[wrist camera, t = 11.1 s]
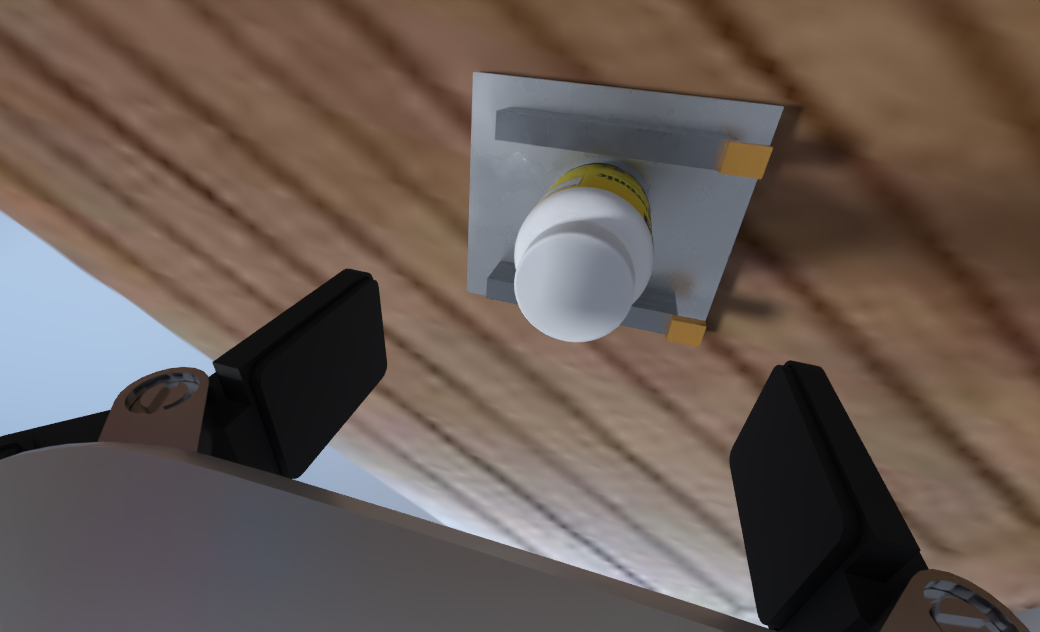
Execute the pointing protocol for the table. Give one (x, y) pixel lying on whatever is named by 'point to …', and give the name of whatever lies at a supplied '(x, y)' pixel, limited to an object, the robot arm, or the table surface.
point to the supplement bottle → (584, 253)
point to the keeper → (638, 149)
